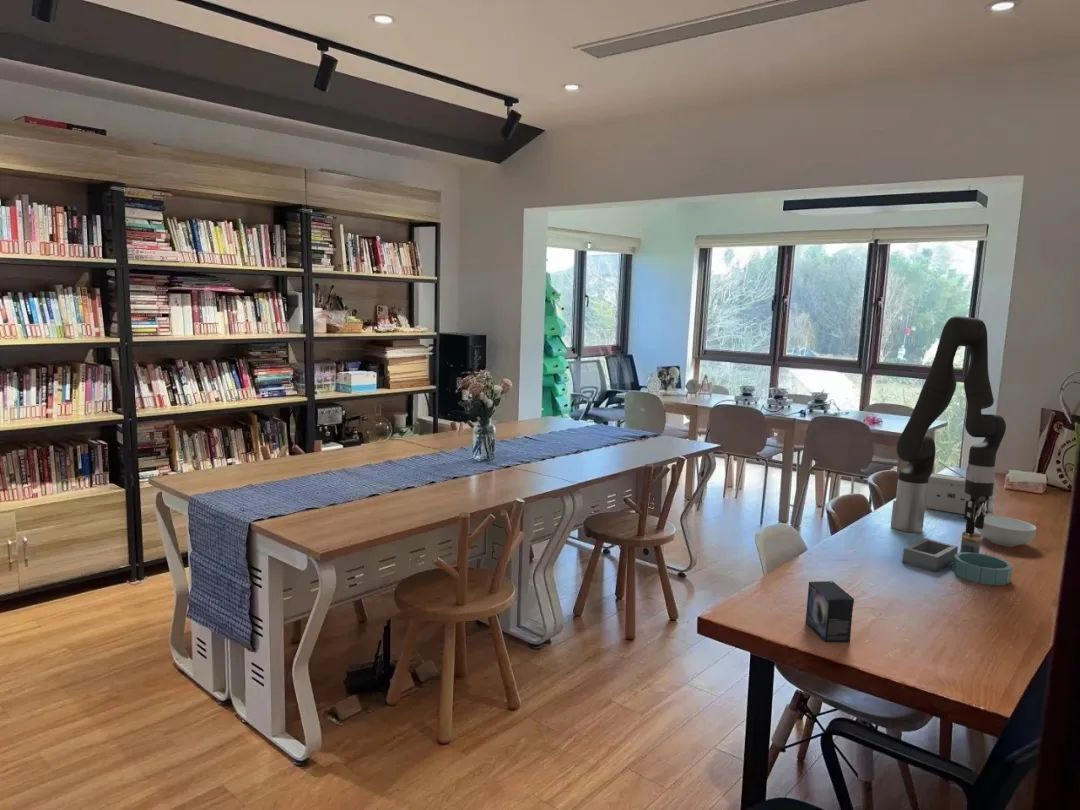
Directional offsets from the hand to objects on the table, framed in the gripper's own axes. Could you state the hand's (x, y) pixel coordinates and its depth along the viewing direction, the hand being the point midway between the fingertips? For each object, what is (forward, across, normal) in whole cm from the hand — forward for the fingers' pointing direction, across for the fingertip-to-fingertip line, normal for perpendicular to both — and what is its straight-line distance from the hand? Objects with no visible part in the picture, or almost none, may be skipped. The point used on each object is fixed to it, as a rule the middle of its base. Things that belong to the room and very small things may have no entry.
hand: (974, 530), depth 227 cm
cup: (+9, +15, +7) cm, 19 cm away
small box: (+9, +87, -4) cm, 88 cm away
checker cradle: (+8, +15, -7) cm, 19 cm away
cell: (+9, 0, -1) cm, 9 cm away
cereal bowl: (+9, -26, +2) cm, 27 cm away
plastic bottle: (+8, -44, -10) cm, 46 cm away
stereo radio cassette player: (+8, -53, -23) cm, 59 cm away
